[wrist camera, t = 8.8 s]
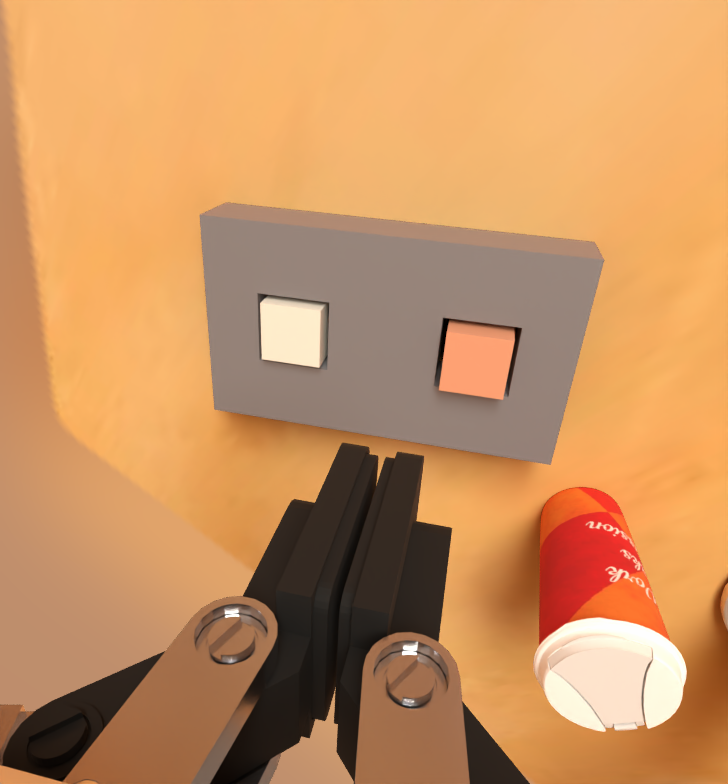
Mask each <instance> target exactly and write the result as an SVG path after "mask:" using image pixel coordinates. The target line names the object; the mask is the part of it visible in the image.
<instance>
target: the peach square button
mask: <svg viewBox="0 0 728 784" xmlns="http://www.w3.org/2000/svg"><path fill="white" fill-rule="evenodd" d="M514 342H515V335H514V327H512V326H504V325H496V324H489V323H481V322H473V321H466V320H458V319H451V318H450V320H449V324H448V329H447V334H446V342H445V349H444V356H443V364H442V371H441V378H440V385H439V390H441V391H447V392H454V393H461V394H467V395H474V396H481V397H487V398H494V399H501V400H503V397H504V392H505V387H506V382H507V377H508V372H509V367H510V362H511V357H512V352H513V347H514Z"/></svg>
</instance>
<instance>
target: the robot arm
mask: <svg viewBox="0 0 728 784" xmlns="http://www.w3.org/2000/svg"><path fill="white" fill-rule="evenodd" d="M369 453H370V451H369V447H366V446H359V445H353V444H347V443H342V444H341V446H340V448H339V450H338V453H337V455H336V457H335V459H334V462H333V464H332V466H331V468H330V470H329V473H328V475H327V477H326V479H325V482H324V484H323V486H322V488H321V491H320V493H319V495H318V497H317V499H316V502H315V503H313V502H307V501H302V500H296V499H294V500H292V501H291V503H290V504H289V506H288V508H287V510H286V512H285V514H284V516H283V518H282V520H281V522H280V524H279V526H278V528H277V530H276V531H275V533H274V535H273V537H272V539H271V541H270V543H269V545H268V547H267V549H266V551H265V553H264V555H263V557H262V559H261V561H260V563H259V565H258V567H257V569H256V571H255V573H254V575H253V577H252V579H251V581H250V583H249V585H248V587H247V589H246V591H245V593H244V595H243V596H237V597H226V598H223V599H219V600H216V601H213V602H212V603H210V604H208V605H206V606H205V607H203V608H201V609H200V610H199V611H198V612H197V613H196V614H195V615H194V616H193V617H192V618H191V619H190V621H189V622H188V623H187V625H186V626H185V627H184V628H183V630H182V631H181V632H180V633H179V635H178V636H177V637H176V639H175V640H174V641H173V642H172V644H171V645H170V646H169V647H168V649H167V650H166V651H164V652H162V653H160V654H157V655H155V656H153V657H151V658H148V659H146V660H144V661H142V662H140V663H137V664H135V665H133V666H130V667H128V668H126V669H124V670H121V671H119V672H117V673H115V674H112V675H110V676H108V677H105V678H103V679H101V680H99V681H96V682H94V683H92V684H90V685H87V686H85V687H83V688H80V689H78V690H76V691H74V692H71V693H69V694H67V695H64V696H62V697H60V698H58V699H55V700H53V701H51V702H49V703H48V704H46V705H44V706H43V707H41V708H39V709H37V710H36V711H30V712H29V711H27V712H26V711H25V709H24V706H23V705H0V784H269V783H270V781H271V778H272V777H273V774H274V772H275V770H276V768H277V765H278V762H279V759H280V756H281V753H282V752H284V751H285V750H287V749H289V748H290V747H292V746H294V745H295V744H297V743H299V741H300V738H301V736H303V737H306V738H310V735H311V732H312V728H313V725H314V721H315V719H318V720H323V721H325V720H326V718H327V715H328V712H329V709H330V705H331V701H332V698H333V694H334V691H335V687H336V692H335V713H334V723H335V724H338V734H337V753H338V755H339V757H340V759H341V760H342V762H343V764H344V765H345V767H346V769H347V770H348V772H349V774H350V775H351V777H352V779H353V781H354V784H530V783H529V782H528V781H527V780H526V779H525V777H524V776H523V775H522V774H521V772H520V771H519V770H518V769H517V768H516V766H515V765H514V764H513V763H512V761H511V760H510V759H509V758H508V757H507V755H506V754H505V753H504V752H503V750H502V749H501V748H500V747H499V746H498V744H497V743H496V742H495V741H494V739H493V738H492V737H491V736H490V735H489V733H488V732H487V731H486V730H485V729H484V727H483V726H482V725H481V724H480V722H479V721H478V720H477V719H476V718H475V716H474V715H473V714H472V713H471V711H470V710H469V709H468V708H467V707H466V705H465V704H464V703H463V702H462V693H461V682H460V675H459V671H458V667H457V664H456V662H455V660H454V659H453V657H452V656H451V654H450V653H449V651H448V650H447V649H445V648H444V647H443V646H442V645H441V644H440V643H439V642H438V641H439V633H440V624H441V616H442V608H443V599H444V591H445V583H446V574H447V566H448V557H449V549H450V541H451V532H452V528H450V527H444V526H439V525H433V524H428V523H422V522H417V521H416V519H417V511H418V503H419V495H420V487H421V479H422V471H423V463H424V456H420V455H414V454H408V453H402V452H397V454H396V457H395V458H388V457H386V458H385V461H384V464H383V467H382V470H381V473H380V476H379V480H378V483H377V470H378V456H376V455H370V454H369ZM376 483H377V486H376ZM720 610H721V614H722V618H723V621H724V623H725V625H726V628H727V630H728V583H727V584H726V586H725V588H724V590H723V593H722V596H721V605H720Z"/></svg>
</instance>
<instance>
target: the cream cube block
mask: <svg viewBox="0 0 728 784" xmlns="http://www.w3.org/2000/svg"><path fill="white" fill-rule="evenodd" d="M260 313H261V348H262V359H264V360H271V361H278V362H284V363H291V364H298V365H304V366H311V367H318V368H319V367H320V366H321V364H322V363H323V361H324V359H325V358H326V356H327V355H328V330H329V303H328V302H321V301H313V300H306V299H298V298H290V297H283V296H275V295H268V296H267V297H266V298H265V299H264V300H263V301H262V302H261V303H260Z"/></svg>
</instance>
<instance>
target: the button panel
mask: <svg viewBox="0 0 728 784" xmlns="http://www.w3.org/2000/svg"><path fill="white" fill-rule="evenodd" d="M200 225H201V238H202V252H203V265H204V278H205V291H206V304H207V317H208V330H209V344H210V357H211V370H212V383H213V396H214V409H215V410H220V411H227V412H233V413H239V414H245V415H251V416H257V417H263V418H269V419H275V420H281V421H287V422H293V423H299V424H306V425H312V426H318V427H324V428H330V429H336V430H342V431H348V432H354V433H360V434H366V435H372V436H378V437H385V438H391V439H397V440H403V441H409V442H415V443H421V444H427V445H433V446H439V447H445V448H451V449H457V450H464V451H470V452H476V453H482V454H488V455H494V456H500V457H506V458H512V459H518V460H524V461H530V462H536V463H542V464H549V465H551V461H552V457H553V453H554V450H555V446H556V442H557V438H558V434H559V430H560V427H561V423H562V419H563V415H564V411H565V408H566V404H567V400H568V396H569V392H570V388H571V385H572V381H573V377H574V373H575V369H576V366H577V362H578V358H579V354H580V350H581V346H582V343H583V339H584V335H585V331H586V327H587V324H588V320H589V316H590V312H591V308H592V304H593V301H594V297H595V293H596V289H597V285H598V282H599V278H600V274H601V270H602V266H603V262H604V259H603V257H602V255H601V253H600V251H599V249H598V247H597V246H596V244H595V242H589V241H580V240H570V239H561V238H552V237H543V236H533V235H524V234H515V233H505V232H496V231H487V230H477V229H468V228H459V227H449V226H440V225H431V224H421V223H412V222H403V221H393V220H384V219H375V218H365V217H356V216H347V215H337V214H328V213H319V212H309V211H300V210H291V209H281V208H272V207H263V206H254V205H244V204H235V203H224V204H222V205H220V206H218V207H215V208H213V209H211V210H209V211H207V212H205V213H202V214H200ZM268 295H275V296H283V297H290V298H298V299H306V300H313V301H321V302H328V303H329V330H328V355H327V356H326V358H325V359H324V361H323V363H322V364H321V366H320V367H319V368H318V367H311V366H304V365H298V364H291V363H284V362H278V361H271V360H264V359H262V348H261V313H260V303H261V302H262V301H263V300H264V299H265V298H266V297H267V296H268ZM445 318H451V319H458V320H466V321H473V322H481V323H489V324H496V325H504V326H512V327H516V332H515V342H514V347H513V352H512V357H511V362H510V367H509V372H508V377H507V382H506V387H505V392H504V397H503V400H501V399H494V398H487V397H481V396H474V395H467V394H461V393H454V392H447V391H441V390H439V385H440V378H441V371H442V364H443V361H440V353H441V346H442V338H443V331H444V324H445Z"/></svg>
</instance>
